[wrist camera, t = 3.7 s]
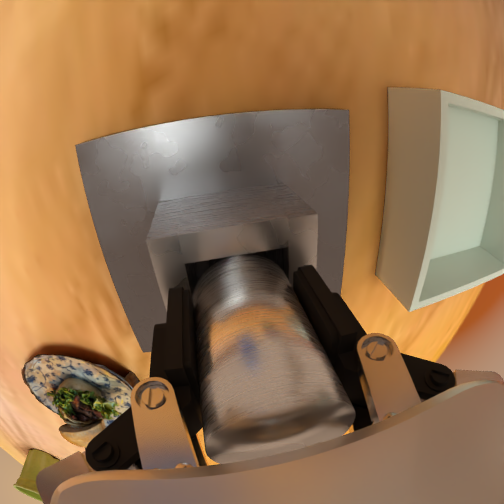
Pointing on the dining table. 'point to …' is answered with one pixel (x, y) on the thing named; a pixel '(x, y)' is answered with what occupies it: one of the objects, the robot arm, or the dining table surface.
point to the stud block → (211, 187)
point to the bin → (441, 196)
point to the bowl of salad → (79, 393)
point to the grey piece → (251, 320)
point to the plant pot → (33, 472)
